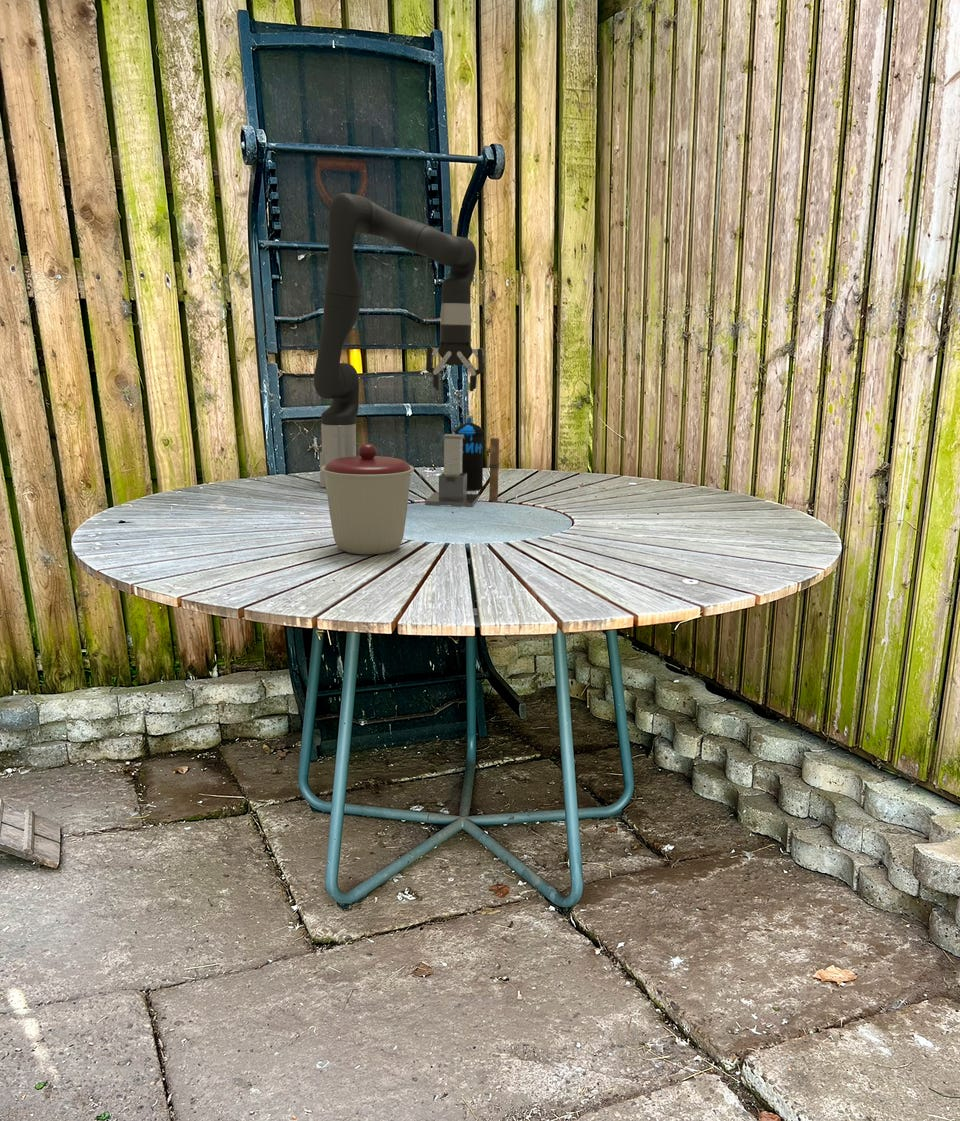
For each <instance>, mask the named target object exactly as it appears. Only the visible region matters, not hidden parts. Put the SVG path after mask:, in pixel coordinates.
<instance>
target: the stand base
mask: <svg viewBox="0 0 960 1121" xmlns="http://www.w3.org/2000/svg"><path fill="white" fill-rule="evenodd" d="M467 492H468V491H467V473H462V476H444V471H443V472H441V473H440V474H439V475H438V492H436V491H435V492H433V493H432V494H431V495H430V496H429V497H427V498H426V499H425V500H424V505H426V506H440V505H451V506H450V507H461V506H465V507H467V508H474V506H475V505H476V503H477V502H478V500H480V494H478V493H475V494H474V493H467Z"/></svg>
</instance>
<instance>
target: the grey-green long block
mask: <svg viewBox="0 0 960 1121" xmlns="http://www.w3.org/2000/svg"><path fill="white" fill-rule="evenodd" d="M463 437H464V435H463V434H455V433H445V434H444V435H443V436H442V439H443V445H444V446H443V472H444V476H462V445H463Z"/></svg>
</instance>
